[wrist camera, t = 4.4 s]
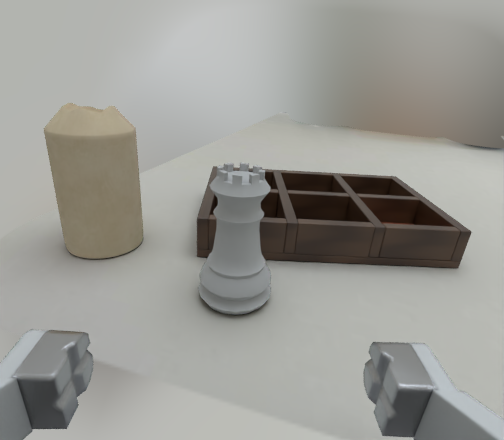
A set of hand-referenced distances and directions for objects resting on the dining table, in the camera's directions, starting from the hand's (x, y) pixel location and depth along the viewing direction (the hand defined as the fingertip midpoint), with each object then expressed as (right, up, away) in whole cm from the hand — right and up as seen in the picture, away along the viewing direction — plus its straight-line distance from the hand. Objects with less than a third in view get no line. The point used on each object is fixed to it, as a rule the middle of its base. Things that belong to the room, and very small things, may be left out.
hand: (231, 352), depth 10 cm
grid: (+6, +3, +21) cm, 23 cm away
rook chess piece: (0, -1, +11) cm, 11 cm away
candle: (-11, +2, +16) cm, 19 cm away
